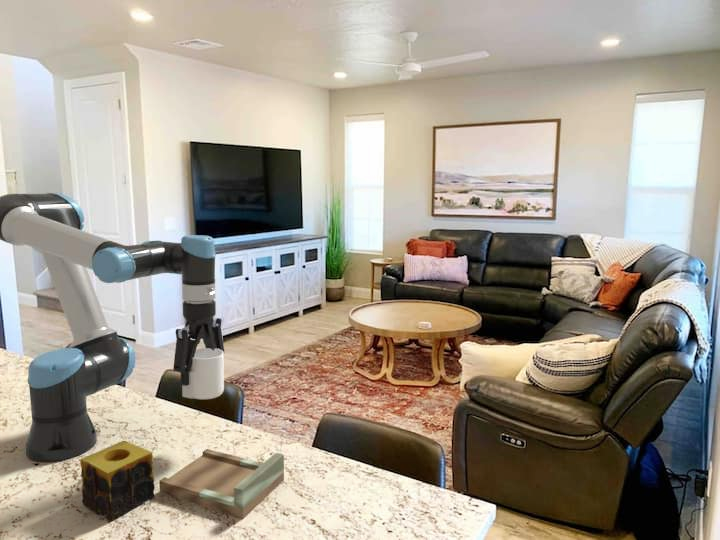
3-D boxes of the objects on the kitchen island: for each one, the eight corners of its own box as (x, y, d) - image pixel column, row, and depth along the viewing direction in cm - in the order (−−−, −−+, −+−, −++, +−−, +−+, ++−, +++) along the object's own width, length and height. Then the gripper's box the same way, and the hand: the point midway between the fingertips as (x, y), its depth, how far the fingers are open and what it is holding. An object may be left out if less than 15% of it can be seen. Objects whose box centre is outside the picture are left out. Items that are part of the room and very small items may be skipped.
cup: (203, 402, 121) (203, 361, 120) (171, 390, 128) (170, 350, 126) (231, 392, 128) (230, 352, 126) (199, 380, 135) (198, 343, 133)
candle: (110, 523, 99) (107, 474, 97) (80, 505, 104) (77, 459, 103) (156, 497, 108) (154, 452, 106) (126, 482, 113) (124, 439, 111)
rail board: (159, 493, 109) (158, 466, 108) (207, 460, 122) (206, 436, 122) (243, 518, 101) (242, 490, 100) (284, 480, 114) (283, 454, 113)
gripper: (180, 311, 113) (182, 409, 117) (238, 294, 132) (239, 379, 136) (153, 307, 116) (156, 403, 119) (215, 291, 135) (216, 374, 139)
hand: (200, 390), depth 128 cm, fingers closed on cup, 8 cm apart
